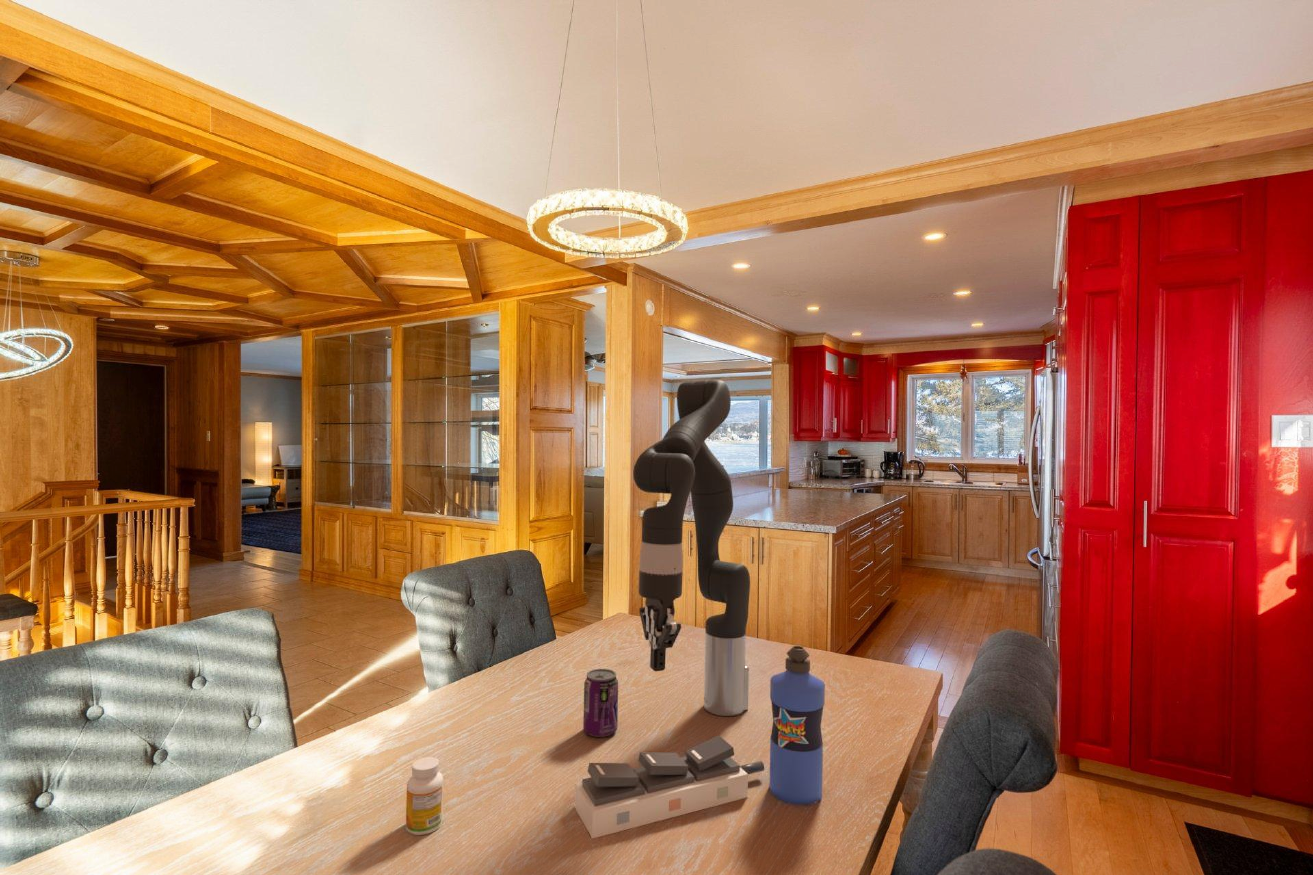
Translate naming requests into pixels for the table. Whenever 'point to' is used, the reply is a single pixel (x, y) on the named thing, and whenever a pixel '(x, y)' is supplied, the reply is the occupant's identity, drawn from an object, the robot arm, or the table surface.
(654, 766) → the plate
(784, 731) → the blue squeeze bottle
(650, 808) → the power strip
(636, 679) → the table surface
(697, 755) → the rocker
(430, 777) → the supplement bottle
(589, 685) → the beverage can
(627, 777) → the rocker
